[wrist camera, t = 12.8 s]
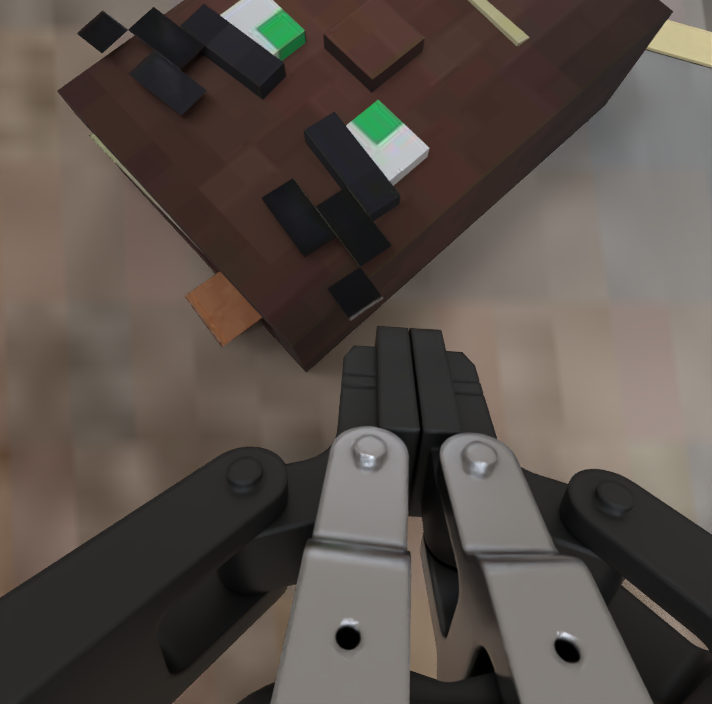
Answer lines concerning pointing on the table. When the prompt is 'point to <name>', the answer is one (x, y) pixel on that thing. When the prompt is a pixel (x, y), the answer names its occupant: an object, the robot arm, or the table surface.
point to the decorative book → (342, 135)
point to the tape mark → (683, 43)
